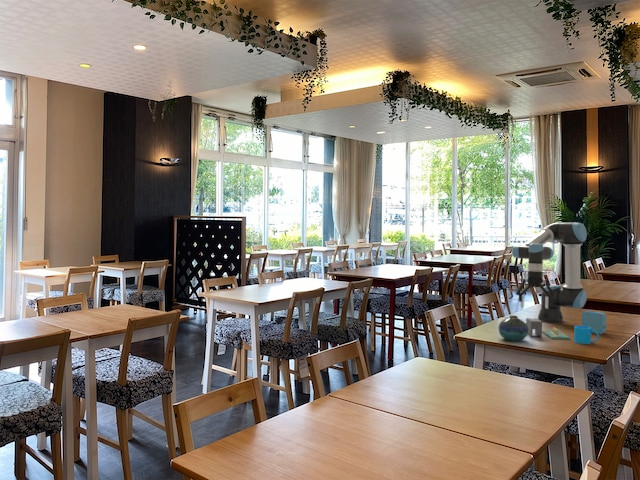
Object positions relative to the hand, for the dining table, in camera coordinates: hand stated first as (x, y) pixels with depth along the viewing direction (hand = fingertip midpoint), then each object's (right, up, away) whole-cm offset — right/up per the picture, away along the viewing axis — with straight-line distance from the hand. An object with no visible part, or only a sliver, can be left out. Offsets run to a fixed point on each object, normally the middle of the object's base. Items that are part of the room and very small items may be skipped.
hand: (534, 307), depth 283 cm
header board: (+12, -16, 0) cm, 20 cm away
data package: (+39, -16, +10) cm, 43 cm away
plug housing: (0, -16, +1) cm, 16 cm away
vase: (-16, -16, -11) cm, 25 cm away
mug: (+22, -17, -15) cm, 31 cm away
